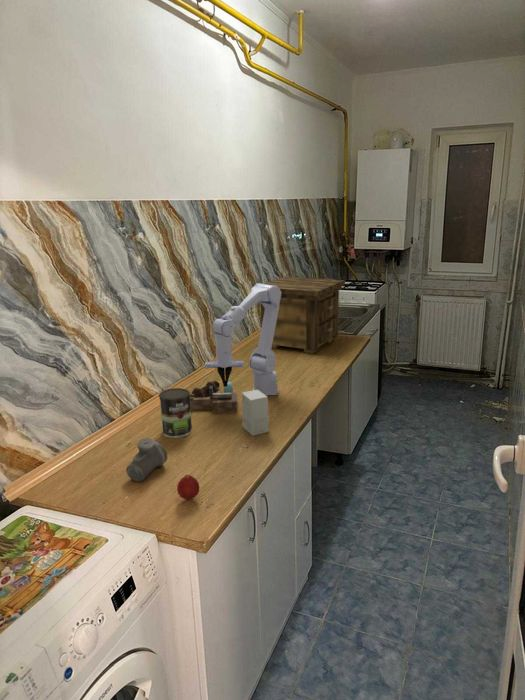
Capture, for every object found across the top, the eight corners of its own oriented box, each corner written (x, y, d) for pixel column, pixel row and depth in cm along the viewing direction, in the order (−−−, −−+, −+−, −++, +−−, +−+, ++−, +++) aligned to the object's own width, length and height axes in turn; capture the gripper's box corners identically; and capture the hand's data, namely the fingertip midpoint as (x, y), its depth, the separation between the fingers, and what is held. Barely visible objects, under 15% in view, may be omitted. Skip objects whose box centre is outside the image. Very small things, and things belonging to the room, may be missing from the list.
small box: (269, 432, 175) (268, 396, 171) (252, 436, 172) (251, 400, 168) (258, 423, 182) (257, 388, 178) (242, 426, 179) (241, 392, 175)
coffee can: (196, 433, 175) (194, 395, 171) (167, 440, 170) (164, 401, 166) (186, 422, 184) (183, 385, 179) (158, 429, 179) (155, 391, 175)
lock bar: (231, 395, 196) (231, 384, 195) (231, 398, 193) (230, 387, 192) (210, 396, 196) (209, 385, 194) (210, 399, 193) (209, 388, 191)
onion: (179, 494, 140) (176, 468, 137) (200, 493, 140) (198, 467, 138) (177, 507, 134) (175, 480, 132) (199, 505, 135) (197, 478, 132)
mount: (237, 402, 200) (236, 389, 198) (237, 411, 191) (236, 398, 190) (190, 404, 199) (190, 391, 198) (188, 413, 191) (187, 400, 189)
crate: (286, 332, 297) (286, 276, 287) (343, 339, 280) (344, 280, 270) (255, 348, 268) (253, 286, 259) (317, 357, 251) (317, 291, 242)
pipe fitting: (147, 458, 158) (144, 430, 154) (169, 465, 155) (166, 437, 151) (122, 481, 148) (118, 453, 144) (145, 489, 145) (142, 460, 141)
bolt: (218, 392, 215) (198, 404, 202) (209, 385, 217) (189, 397, 203) (224, 382, 213) (204, 393, 200) (215, 375, 214) (194, 386, 201)
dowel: (233, 395, 207) (232, 381, 205) (232, 398, 204) (232, 384, 202) (224, 395, 207) (223, 381, 205) (223, 399, 203) (223, 385, 202)
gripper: (203, 355, 185) (205, 390, 189) (243, 353, 185) (244, 388, 189) (204, 349, 192) (206, 383, 196) (243, 348, 192) (244, 382, 196)
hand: (225, 385), depth 193 cm, fingers closed
